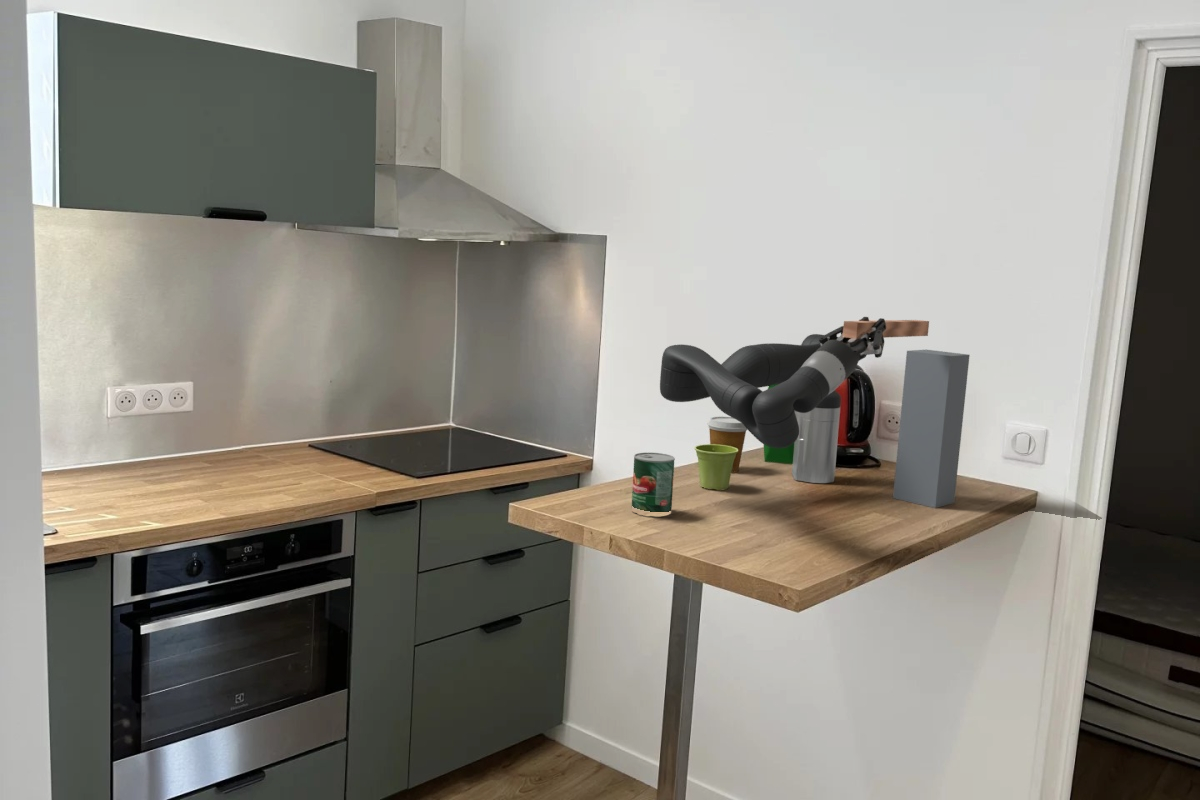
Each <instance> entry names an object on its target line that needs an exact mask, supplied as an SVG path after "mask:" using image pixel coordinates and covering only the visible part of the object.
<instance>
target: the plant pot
mask: <svg viewBox="0 0 1200 800" xmlns="http://www.w3.org/2000/svg"><path fill="white" fill-rule="evenodd" d="M694 450H695V451H696V457H697V462H698V472H699V474H698V475H699V486H700V487H701V486H702V487H704V488H703V489H705V488H708V489H711V490H716V491H723V490H727V489H729V487H730V486H729V485H730V481H731V477H732V473H731V471H732V467H733V462H734V459H735V457H736V453H737V452H738V449H737V448H734V447H731V446H725V445H715V444H710V443H709V444H699V445H695V446H694ZM702 487H701V488H702ZM708 489H707V490H708Z"/></svg>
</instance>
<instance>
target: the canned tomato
mask: <svg viewBox="0 0 1200 800" xmlns="http://www.w3.org/2000/svg"><path fill="white" fill-rule="evenodd" d="M633 458H634V459H633V476H632V496H631V507H632V506H633V507H634V508H637V509H640V510H644V511H650V512H669V511H672V507H673V493H674V473H675V460H676V459H675V458H676V457H675V456H673V455H671V454H667V453H662V452H638V453H634V455H633Z"/></svg>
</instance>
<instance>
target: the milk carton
mask: <svg viewBox="0 0 1200 800" xmlns="http://www.w3.org/2000/svg"><path fill="white" fill-rule="evenodd" d="M776 385H778V384H776ZM776 385H772V386H767V389H770V388H772V387H774V386H776ZM794 411H795V410H794ZM795 415H796V418H797V421H798V415H799V412H797V411H795ZM793 454H794V443H793V444H792V445H790V446H788V447H786V448H772V447H768V446H766V445H764V444H763V455H764V456H763V457H764V462H767V463H776V464H777V463H778V464H789V465H793Z"/></svg>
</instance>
